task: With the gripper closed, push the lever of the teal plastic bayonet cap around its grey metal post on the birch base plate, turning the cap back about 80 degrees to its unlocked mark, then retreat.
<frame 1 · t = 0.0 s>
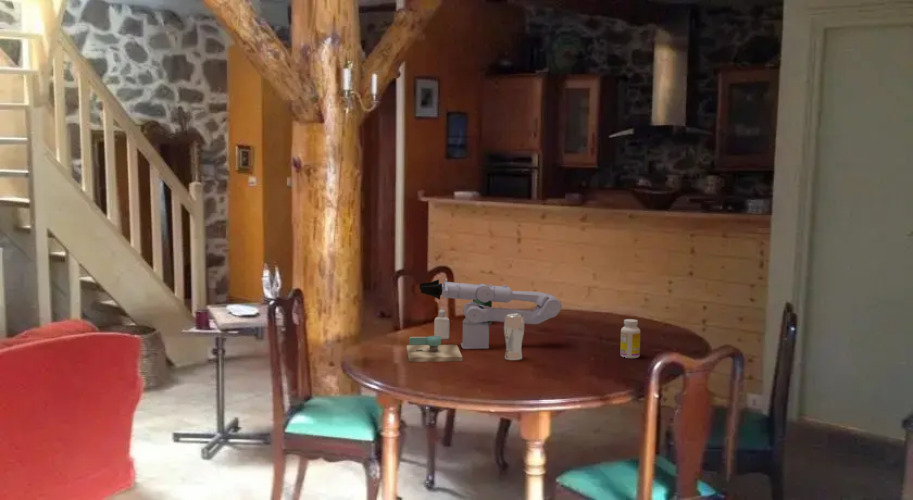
hand: (420, 287, 312), 22 cm above the table, tool horizontal, fingers open, 7 cm apart
supplement bottle: (629, 357, 304), on the table
canned tomato: (482, 323, 359), on the table
beer glass: (513, 358, 300), on the table
eye dropper bottle: (441, 339, 329), on the table
post base: (433, 355, 303), on the table
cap: (425, 340, 302), point 5 cm above the table, hinge at 0.0°
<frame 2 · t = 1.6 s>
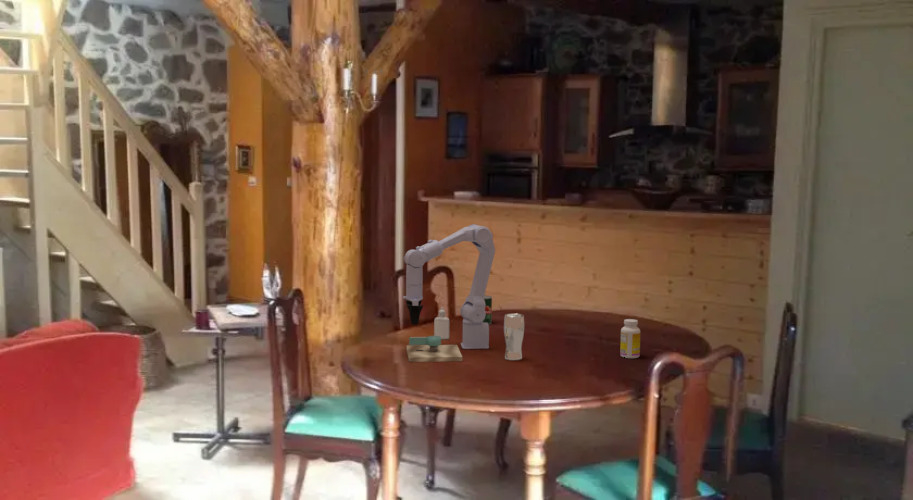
hand: (414, 322, 307), 10 cm above the table, tool pointing down, fingers open, 7 cm apart
nothing on the table moved.
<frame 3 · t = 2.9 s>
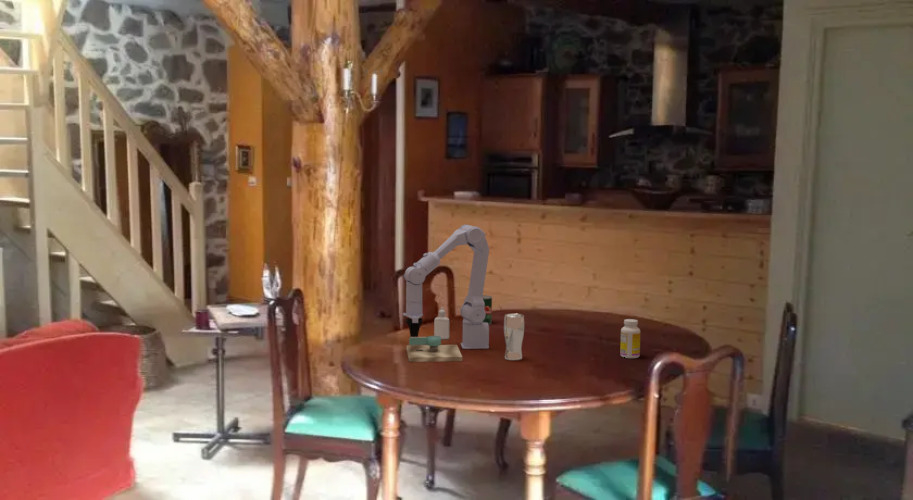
hand: (414, 339, 308), 4 cm above the table, tool pointing down, fingers closed
nothing on the table moved.
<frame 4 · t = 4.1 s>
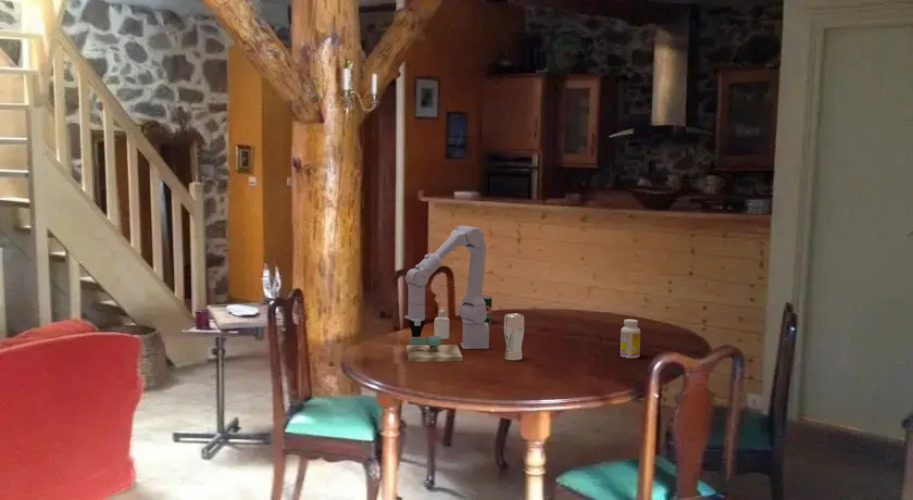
hand: (416, 342, 303), 4 cm above the table, tool pointing down, fingers closed, pressing on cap
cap: (425, 340, 302), point 5 cm above the table, hinge at 0.3°, touching gripper
everything else where it was.
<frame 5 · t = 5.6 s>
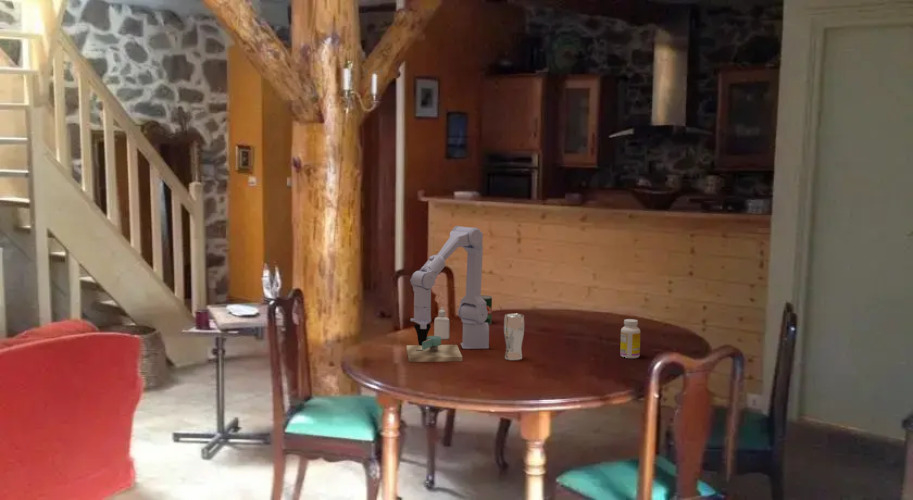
hand: (422, 345, 298), 4 cm above the table, tool pointing down, fingers closed, pressing on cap
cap: (430, 342, 299), point 5 cm above the table, hinge at 61.7°, touching gripper
everything else where it was.
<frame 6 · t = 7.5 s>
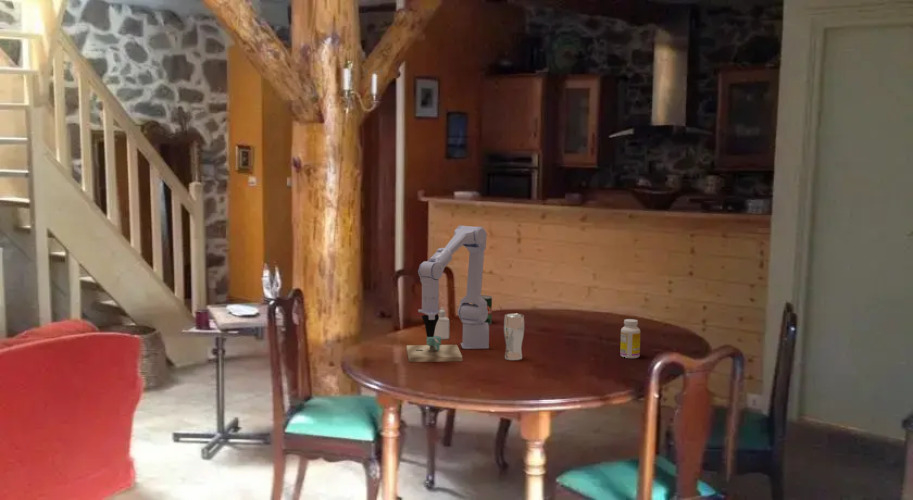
hand: (430, 336, 295), 8 cm above the table, tool pointing down, fingers closed
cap: (435, 342, 299), point 5 cm above the table, hinge at 95.4°
everything else where it was.
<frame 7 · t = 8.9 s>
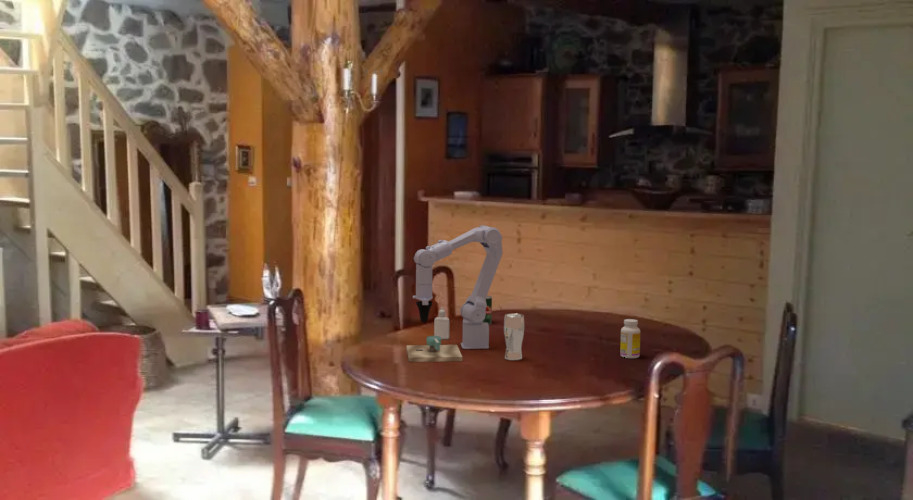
hand: (423, 321, 308), 10 cm above the table, tool pointing down, fingers closed
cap: (435, 342, 299), point 5 cm above the table, hinge at 95.8°
everything else where it was.
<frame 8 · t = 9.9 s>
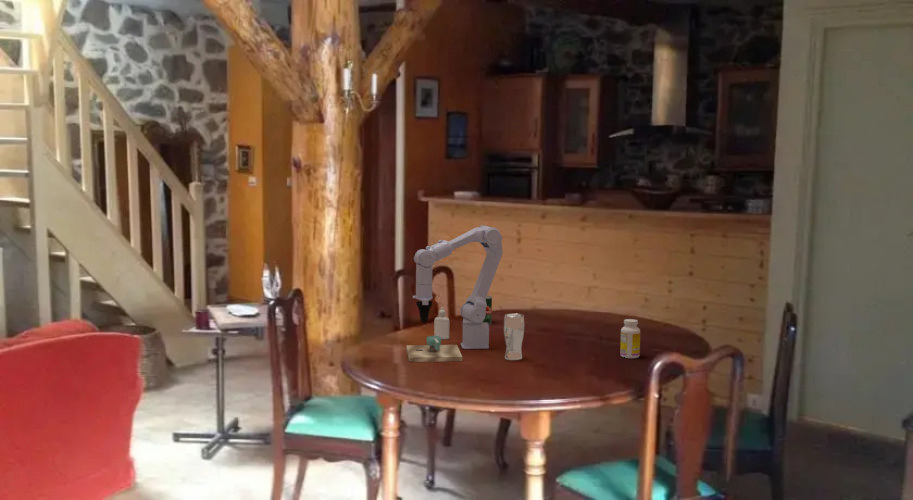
hand: (423, 321, 308), 10 cm above the table, tool pointing down, fingers closed
nothing on the table moved.
at the end: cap at +96° (first picture: +0°); eye dropper bottle moved 0.2 cm from its start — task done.
